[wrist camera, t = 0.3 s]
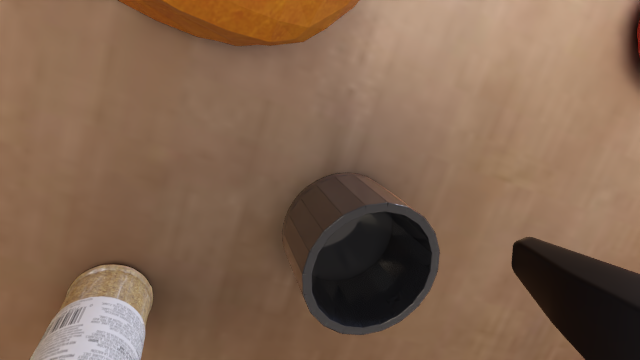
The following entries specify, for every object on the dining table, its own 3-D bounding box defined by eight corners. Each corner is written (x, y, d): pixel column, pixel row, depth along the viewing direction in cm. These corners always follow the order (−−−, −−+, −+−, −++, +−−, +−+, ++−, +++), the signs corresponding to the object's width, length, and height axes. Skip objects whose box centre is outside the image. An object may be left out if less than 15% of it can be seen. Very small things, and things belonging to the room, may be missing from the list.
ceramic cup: (351, 297, 28) (385, 352, 23) (258, 253, 24) (272, 305, 19) (415, 207, 27) (465, 243, 22) (327, 149, 24) (361, 175, 19)
